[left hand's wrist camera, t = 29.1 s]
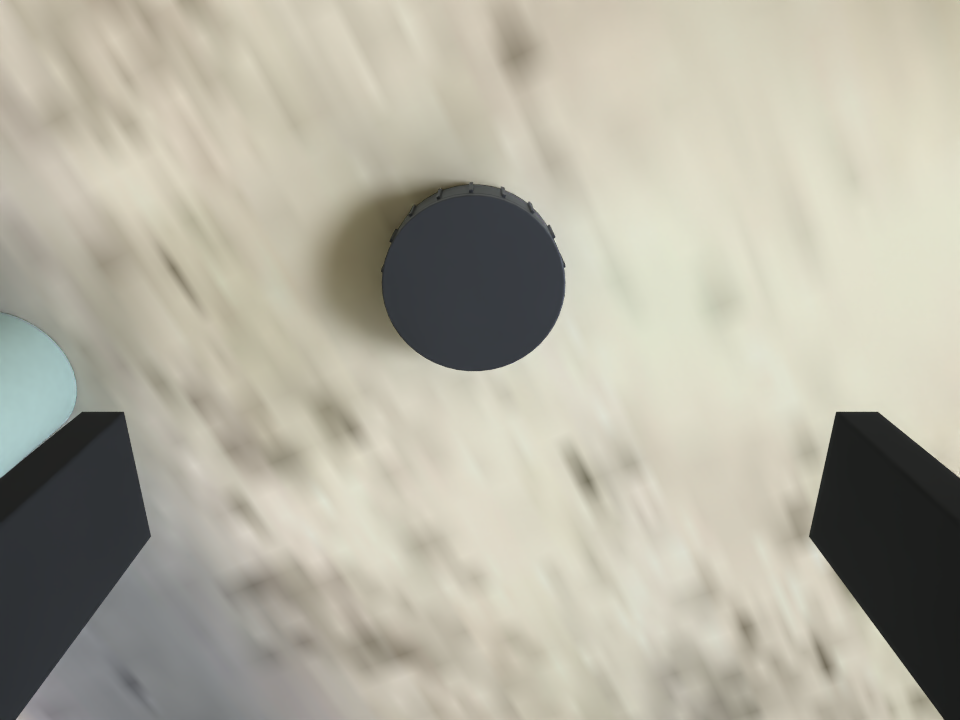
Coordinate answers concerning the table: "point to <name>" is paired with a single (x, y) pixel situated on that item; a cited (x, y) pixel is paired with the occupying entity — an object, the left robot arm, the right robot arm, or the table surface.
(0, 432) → the mint green bottle
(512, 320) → the lid
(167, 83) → the table surface
